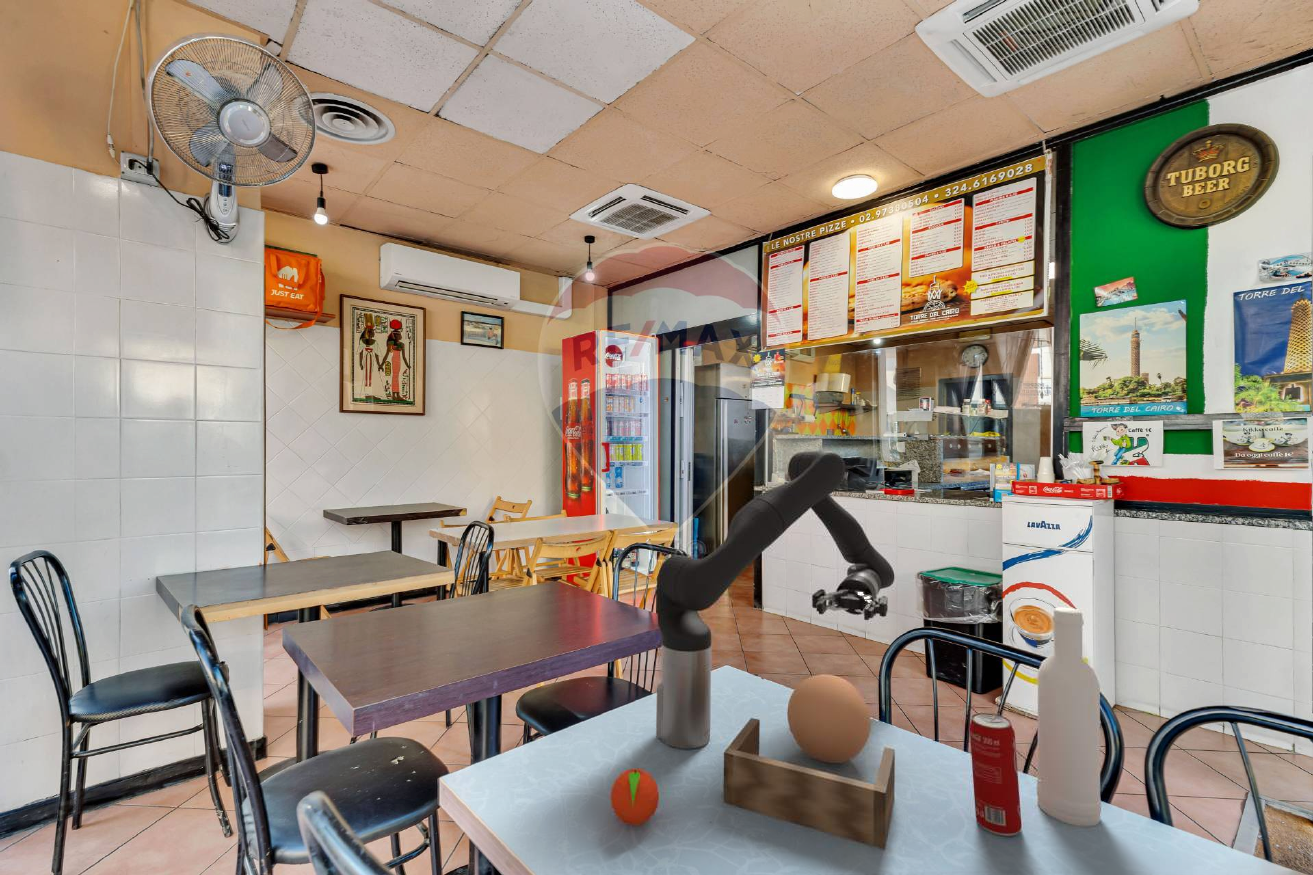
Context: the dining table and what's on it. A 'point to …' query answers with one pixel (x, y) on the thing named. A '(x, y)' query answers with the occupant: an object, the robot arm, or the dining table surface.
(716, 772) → the dining table surface
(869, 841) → the pocket
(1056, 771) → the bottle
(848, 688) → the ball
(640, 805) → the clementine
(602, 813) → the dining table surface
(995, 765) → the beverage can
